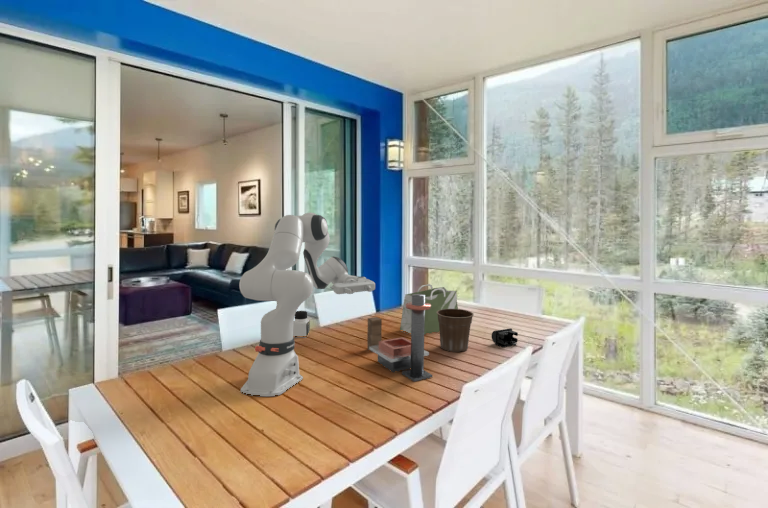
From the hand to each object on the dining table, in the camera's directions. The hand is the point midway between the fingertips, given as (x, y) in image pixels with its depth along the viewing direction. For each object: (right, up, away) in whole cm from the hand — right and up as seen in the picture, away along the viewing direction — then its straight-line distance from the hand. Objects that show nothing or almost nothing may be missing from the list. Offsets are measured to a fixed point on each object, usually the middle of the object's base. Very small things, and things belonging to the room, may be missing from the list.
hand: (361, 291), depth 184 cm
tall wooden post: (+6, -25, -9) cm, 27 cm away
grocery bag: (+35, -23, +27) cm, 50 cm away
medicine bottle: (-30, -23, +12) cm, 40 cm away
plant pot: (+42, -25, -4) cm, 49 cm away
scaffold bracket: (+18, -27, -30) cm, 44 cm away
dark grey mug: (+66, -25, +2) cm, 71 cm away
